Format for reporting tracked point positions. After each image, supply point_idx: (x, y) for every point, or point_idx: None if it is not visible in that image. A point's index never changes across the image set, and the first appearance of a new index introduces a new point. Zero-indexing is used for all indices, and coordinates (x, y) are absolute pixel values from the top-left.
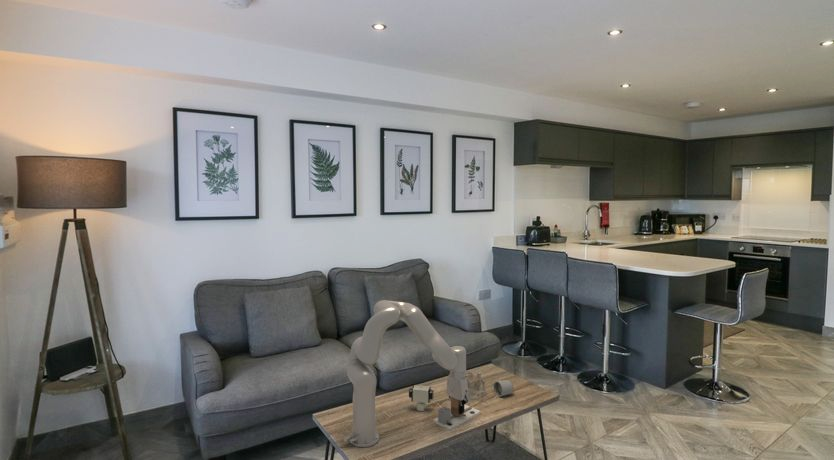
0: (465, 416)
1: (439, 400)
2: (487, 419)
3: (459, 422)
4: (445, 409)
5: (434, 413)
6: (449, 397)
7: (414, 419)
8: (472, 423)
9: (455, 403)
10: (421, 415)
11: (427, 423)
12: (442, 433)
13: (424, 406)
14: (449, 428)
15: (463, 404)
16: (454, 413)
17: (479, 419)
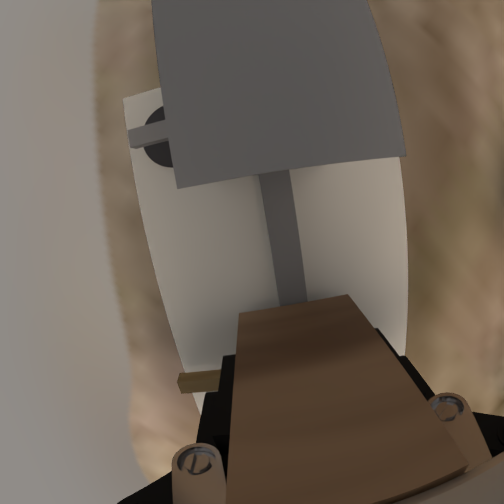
0: (181, 378)
1: None
2: (144, 460)
3: (153, 266)
4: (248, 68)
5: (481, 199)
6: (498, 421)
7: (467, 10)
8: (132, 368)
9: (291, 428)
10: (498, 90)
11: (373, 17)
12: (132, 22)
13: None
14: (128, 100)
15: (157, 483)
16: (291, 315)
17: (166, 436)
